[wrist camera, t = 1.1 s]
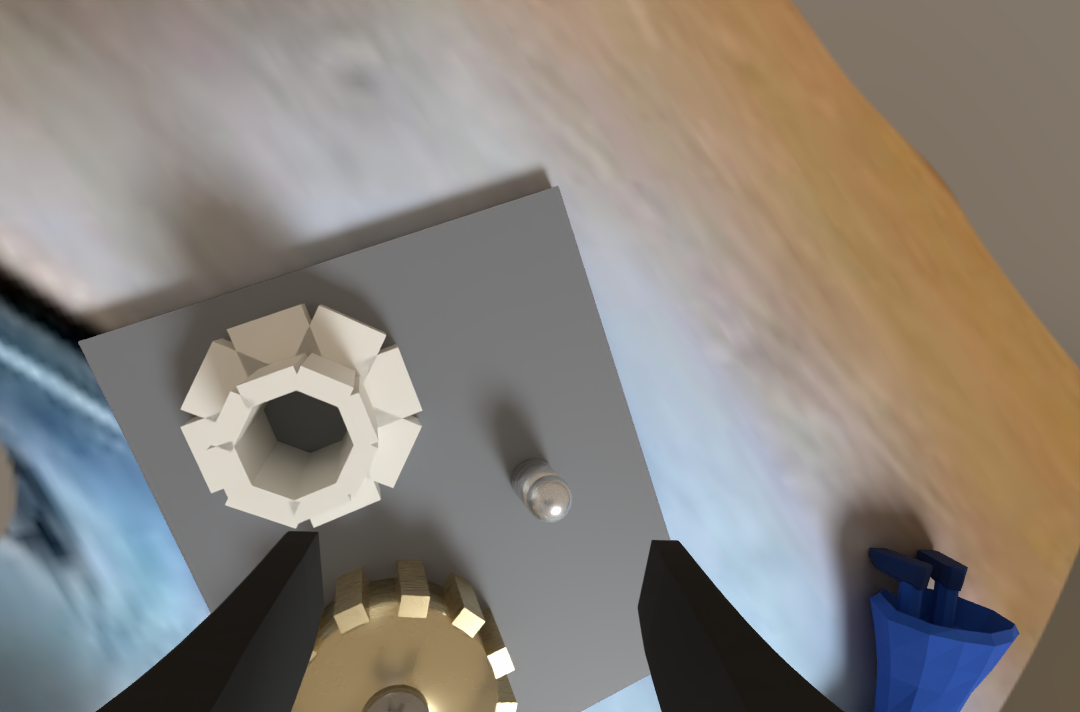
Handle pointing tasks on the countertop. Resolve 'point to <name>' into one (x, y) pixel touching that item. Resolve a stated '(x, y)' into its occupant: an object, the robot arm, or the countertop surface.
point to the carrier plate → (438, 440)
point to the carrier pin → (542, 490)
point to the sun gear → (406, 648)
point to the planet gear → (321, 372)
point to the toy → (931, 635)
